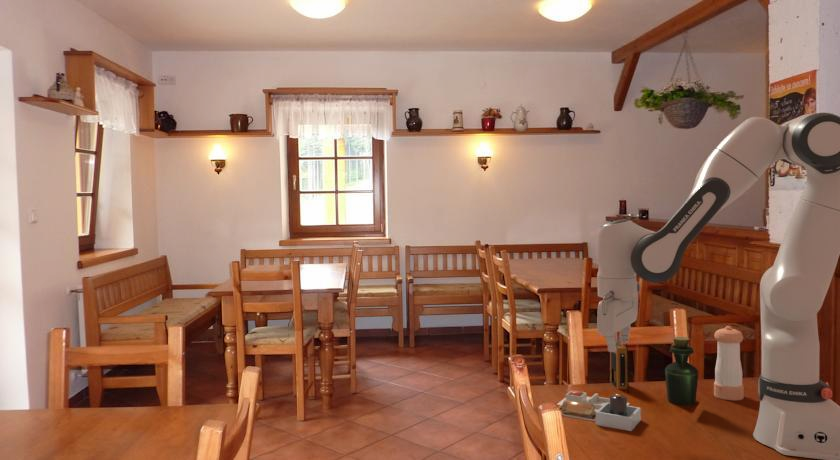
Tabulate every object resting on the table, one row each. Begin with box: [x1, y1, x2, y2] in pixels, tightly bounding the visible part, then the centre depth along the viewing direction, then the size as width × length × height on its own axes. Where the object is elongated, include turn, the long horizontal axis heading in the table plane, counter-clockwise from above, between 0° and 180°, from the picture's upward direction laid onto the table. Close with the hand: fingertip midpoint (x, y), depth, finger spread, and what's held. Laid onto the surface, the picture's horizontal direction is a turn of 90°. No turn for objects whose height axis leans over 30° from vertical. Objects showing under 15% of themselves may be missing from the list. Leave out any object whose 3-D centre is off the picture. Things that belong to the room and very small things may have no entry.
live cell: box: [561, 400, 596, 419], centre depth 157 cm, size 8×4×4 cm, turn 56°
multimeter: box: [607, 331, 630, 393], centre depth 179 cm, size 15×10×20 cm
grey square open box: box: [595, 402, 642, 432], centre depth 151 cm, size 8×8×4 cm
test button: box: [570, 389, 583, 396], centre depth 167 cm, size 3×3×2 cm
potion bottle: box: [664, 336, 699, 407], centre depth 164 cm, size 8×8×18 cm
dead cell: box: [609, 393, 628, 416], centre depth 151 cm, size 4×4×8 cm
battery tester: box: [556, 390, 631, 411], centre depth 164 cm, size 16×10×4 cm, turn 56°
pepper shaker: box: [713, 325, 745, 401], centre depth 172 cm, size 7×7×19 cm
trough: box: [558, 405, 596, 423], centre depth 157 cm, size 11×6×2 cm, turn 56°
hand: (618, 347), depth 150 cm, fingers open, 8 cm apart
